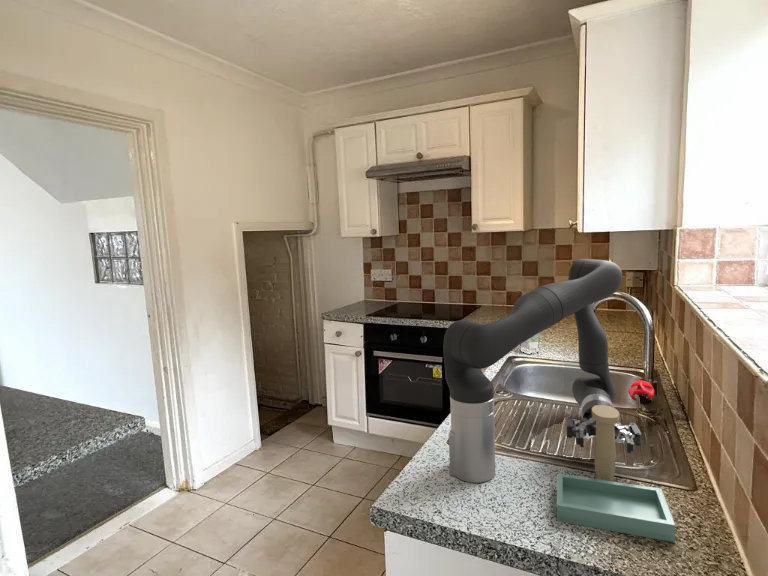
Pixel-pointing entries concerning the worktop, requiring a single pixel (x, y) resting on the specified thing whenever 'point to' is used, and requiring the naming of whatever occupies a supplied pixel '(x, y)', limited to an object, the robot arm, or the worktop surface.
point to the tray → (614, 507)
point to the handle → (605, 441)
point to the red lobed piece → (641, 389)
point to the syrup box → (531, 342)
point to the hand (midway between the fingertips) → (605, 445)
